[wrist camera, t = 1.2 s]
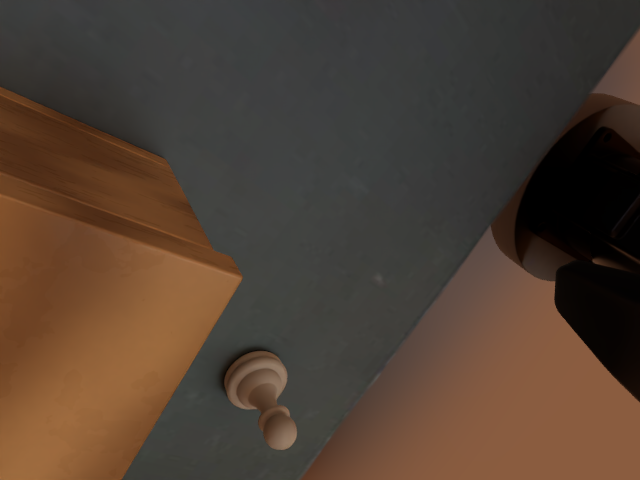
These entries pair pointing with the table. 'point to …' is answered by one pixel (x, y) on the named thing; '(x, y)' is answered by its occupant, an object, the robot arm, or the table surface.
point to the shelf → (93, 294)
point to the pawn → (262, 395)
